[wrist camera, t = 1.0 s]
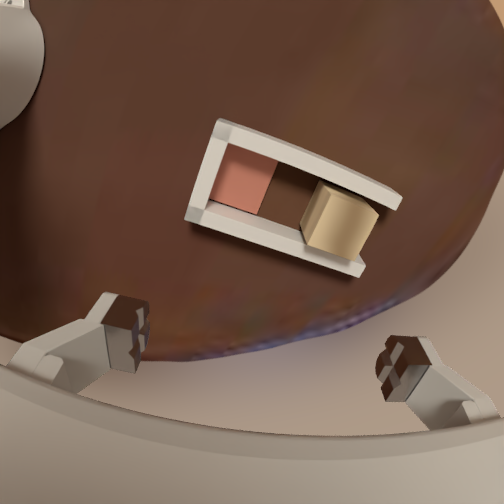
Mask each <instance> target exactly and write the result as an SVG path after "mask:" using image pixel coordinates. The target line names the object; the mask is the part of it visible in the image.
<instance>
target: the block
mask: <svg viewBox="0 0 504 504" xmlns="http://www.w3.org/2000/svg"><path fill="white" fill-rule="evenodd" d="M378 216H379V215H378V214H377V213H376V211H375V210H374V209H373V208H372V207H371V206H370V205H369V204H368V203H367V202H366V201H365V200H364V199H363V198H361V197H359V196H357V195H354V194H352V193H350V192H348V191H345V190H343V189H341V188H338V187H336V186H334V185H331V184H329V183H326V182H324V181H322V180H319V182H318V184H317V186H316V189H315V191H314V193H313V195H312V197H311V200H310V202H309V204H308V206H307V208H306V211H305V213H304V215H303V217H302V219H301V221H300V226H301V229H302V232H303V234H304V237H305V240H306V243H307V245H309V246H312V247H315V248H318V249H321V250H323V251H326V252H329V253H332V254H335V255H337V256H340V257H343V258H346V259H349V260H351V261H355V259H356V258H357V256H358V254H359V252H360V250H361V249H362V247H363V245H364V243H365V241H366V239H367V237H368V236H369V234H370V232H371V230H372V228H373V226H374V224H375V222H376V220H377V218H378Z"/></svg>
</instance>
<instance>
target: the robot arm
mask: <svg viewBox="0 0 504 504" xmlns="http://www.w3.org/2000/svg"><path fill="white" fill-rule="evenodd" d="M11 3H12V4H11ZM43 59H44V40H43V34H42V30H41V28H40V25H39V23H38V22H37V20H36V19H35V18H34V16H33V15H32V13H31V12H30V7H29V0H0V129H1V128H2V127H4V126H5V125H6V124H8V123H9V122H11V121H12V120H14V119H15V118H16V117H17V116H18V115H19V114H20V113H21V112H22V111H23V109H24V108H25V107H26V105H27V104H28V102H29V101H30V99H31V97H32V95H33V93H34V91H35V89H36V86H37V84H38V81H39V78H40V74H41V70H42V66H43ZM148 314H149V303H148V301H145V300H140V299H136V298H131V297H127V296H123V295H118V294H114V293H109V292H105V293H103V294H102V295H101V297H100V298H99V299H98V301H97V302H96V304H95V305H94V306H93V308H92V309H91V311H90V312H89V314H88V315H87V316H86V318H85V319H84V320H83V319H79V320H76V321H74V322H72V323H69V324H67V325H65V326H62V327H60V328H58V329H55V330H53V331H51V332H48V333H46V334H44V335H41V336H39V337H37V338H34V339H32V340H30V341H27V342H25V343H23V344H22V346H21V347H20V348H19V349H18V351H17V352H16V353H15V355H14V356H13V357H12V359H11V360H10V362H9V363H8V364H7V366H3V365H1V364H0V504H504V417H503V418H501V417H500V415H499V413H498V411H497V410H496V408H495V406H494V404H493V402H492V401H491V399H490V397H489V396H487V395H486V394H485V393H483V392H482V391H480V390H479V389H478V388H477V387H475V386H474V385H473V384H471V383H470V382H469V381H467V380H466V379H465V378H463V377H462V376H461V375H459V374H458V373H456V372H455V371H454V370H452V369H451V368H450V367H448V366H444V365H443V363H442V361H441V359H440V358H439V356H438V354H437V352H436V350H435V349H434V347H433V345H432V343H431V342H430V340H429V339H428V338H427V337H421V336H415V337H410V336H395V335H391V336H390V337H389V338H388V339H387V341H386V343H385V346H386V349H385V350H384V351H383V352H381V353H380V354H379V357H378V359H377V361H376V367H375V369H376V375H377V378H378V379H379V380H380V381H381V382H382V383H383V384H382V386H381V390H382V393H383V396H384V399H385V401H386V402H405V403H406V404H407V405H408V406H409V408H410V409H411V410H412V411H413V412H414V413H415V414H416V415H417V416H418V417H419V418H420V420H421V421H422V422H423V423H424V424H425V425H426V426H427V427H428V428H429V429H430V430H429V431H420V432H411V433H399V434H386V435H363V436H311V435H310V436H309V435H289V434H274V433H262V432H252V431H243V430H234V429H226V428H219V427H212V426H206V425H200V424H194V423H188V422H182V421H177V420H172V419H167V418H163V417H158V416H153V415H149V414H145V413H140V412H136V411H132V410H129V409H125V408H121V407H117V406H113V405H110V404H107V403H103V402H100V401H96V400H93V399H90V398H87V397H84V396H81V395H77V393H78V392H80V391H81V390H83V389H84V388H85V387H87V386H88V385H90V384H91V383H92V382H94V381H95V380H97V379H98V378H99V377H101V376H102V375H104V373H106V372H108V371H109V370H110V368H112V369H116V370H120V371H125V372H130V373H134V374H135V373H136V371H137V368H138V366H139V363H140V361H141V352H142V351H144V350H145V348H146V346H147V342H148V338H149V330H150V323H149V321H148V320H147V319H146V318H147V316H148Z"/></svg>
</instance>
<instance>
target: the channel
mask: <svg viewBox="0 0 504 504" xmlns="http://www.w3.org/2000/svg"><path fill="white" fill-rule="evenodd" d="M278 161H281V162H283V163H286V164H289V165H291V166H294V167H296V168H299V169H301V170H304V171H306V172H309V173H311V174H314V175H316V176H319V177H321V178H324V179H326V180H328V181H331V182H333V183H336V184H338V185H340V186H343V187H345V188H347V189H349V190H352V191H354V192H356V193H359V194H361V195H363V196H365V197H367V198H370V199H372V200H374V201H376V202H378V203H381V204H383V205H385V206H387V207H389V208H391V209H393V210H395V211H396V210H397V208H398V206H399V204H400V202H401V200H402V198H403V197H402V196H400V195H399V194H398V193H397V192H395V191H394V190H393V189H391V188H390V187H388V186H386V185H383V184H381V183H379V182H377V181H375V180H373V179H371V178H369V177H367V176H365V175H363V174H360V173H358V172H356V171H354V170H352V169H350V168H347V167H345V166H343V165H341V164H338V163H336V162H334V161H332V160H329V159H327V158H325V157H322V156H320V155H318V154H315V153H313V152H310V151H308V150H305V149H303V148H301V147H298V146H296V145H293V144H291V143H288V142H285V141H283V140H280V139H278V138H275V137H272V136H270V135H267V134H264V133H262V132H259V131H256V130H253V129H251V128H248V127H245V126H242V125H239V124H236V123H233V122H230V121H227V120H224V119H221V118H220V119H218V120H217V122H216V125H215V127H214V130H213V133H212V136H211V139H210V142H209V144H208V147H207V150H206V153H205V156H204V159H203V162H202V165H201V168H200V171H199V174H198V177H197V180H196V183H195V186H194V189H193V192H192V196H191V199H190V202H189V205H188V208H187V212H186V215H185V218H184V220H187V221H190V222H193V223H196V224H199V225H202V226H205V227H209V228H212V229H215V230H218V231H221V232H224V233H227V234H230V235H233V236H236V237H239V238H242V239H245V240H248V241H251V242H254V243H257V244H260V245H263V246H266V247H269V248H272V249H275V250H278V251H281V252H284V253H287V254H290V255H293V256H296V257H299V258H302V259H305V260H308V261H311V262H314V263H317V264H320V265H323V266H326V267H329V268H332V269H335V270H338V271H341V272H343V273H346V274H349V275H352V276H355V277H358V278H359V277H360V275H361V274H362V272H363V270H364V268H365V267H366V265H365V264H364V262H363V260H362V259H361V257H360V255H359V254H358V256H357V258H356V259H355V261H351V260H349V259H346V258H343V257H340V256H337V255H335V254H332V253H329V252H326V251H323V250H321V249H318V248H315V247H312V246H309V245H307V243H306V240H305V237H304V234H303V232H301V231H298V230H295V229H292V228H289V227H287V226H284V225H281V224H278V223H275V222H272V221H270V220H267V219H264V218H261V217H258V216H255V215H252V214H249V213H246V212H243V211H240V210H238V209H235V208H232V207H229V206H226V205H223V204H220V203H217V202H214V201H211V200H208V198H209V199H212V200H215V201H218V202H221V203H224V204H227V205H230V206H233V207H236V208H239V209H242V210H245V211H248V212H251V213H253V214H256V215H257V212H258V210H259V207H260V205H261V202H262V200H263V198H264V195H265V193H266V190H267V188H268V185H269V183H270V180H271V178H272V176H273V173H274V171H275V168H276V166H277V163H278Z"/></svg>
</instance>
